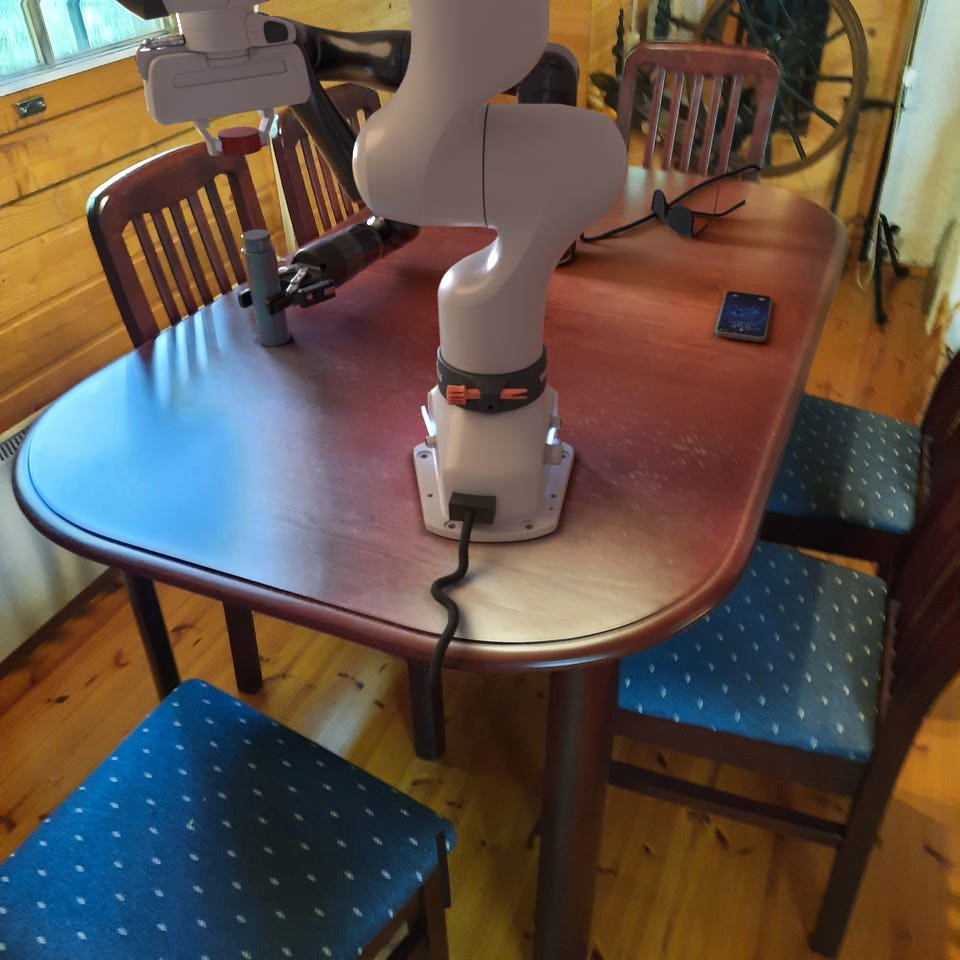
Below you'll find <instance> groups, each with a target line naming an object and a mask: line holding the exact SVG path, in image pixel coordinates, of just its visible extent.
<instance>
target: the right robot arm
mask: <svg viewBox="0 0 960 960" xmlns="http://www.w3.org/2000/svg"><path fill="white" fill-rule="evenodd" d="M271 16H272V17H276V18H280V19H283V20H286V21H288V22H290V23H292V24H293V25H294V26H295V29H296V30H295V31H296V39H295V40H294V41H293V42H291V43H294V44H295V45H297V46H298V47H299V48H300V50H301V52H302V54H303V57H304V60H305V64H306V68H307V72H308V77H309V83H310V95H309V98H308V100H307V102H305V103H301V104H295V105H289V106H288V108H289V109H290V110H291V112H292V113H293V115H294V116H295V117H296V118H297V120H298V121H299V123H300V124H301V126H302V127H303V128H304V130H305V131H306V133H307V134H308V136H309V137H310V139H311V141H312V142H313V144H314V145H315V147H316V149H317V150H318V152H319V153H320V155H321V157H322V158H323V160H324V161H325V163H326V164H327V166H328V168H329V170H330V172H331V173H332V175H333V176H334V178H335V179H336V181H337V183H338V184H339V186H340V187H341V189H342V191H343V193H344V194H345V196H346V197H347V199H348V200H349V201H350V202H351V203H353V204H356V205H357V204H362V203H365V202H364V200H363V199H362V197H361V195H360V193H359V191H358V189H357V186H356V183H355V179H354V174H353V151H354V146H355V142H356V139H357V137H358V134H359V132H357V130H356V129H355V128H354V127H353V126H352V124H351V123H350V122H349V121H348V119H347V118H346V117H345V116H344V115H343V114H342V112H341V111H340V110H339V108H338V107H337V106H336V105H335V103H334V102H333V100H332V99H331V98H330V96H329V94H328V93H327V91H326V90H325V88H324V87H323V85H322V83H321V82H333V83H334V82H337V83H339V82H340V83H349V84H353V85H358V86H361V87H365V88H369V89H372V90H376V91H380V92H385V93H389V94H393V95H394V94H395V93H396V91H397V90H398V88H399V87H400V85H401V83H402V81H403V79H404V77H405V74H406V71H407V68H408V64H409V60H410V54H411V29H377V30H375V29H373V30H366V31H365V30H364V31H342V30H341V31H340V30H335V29H329V28H325V27H320V26H316V25H312V24H308V23H304V22H302V21H298V20H295V19H292V18H289V17H285V16H280V15H271ZM580 73H581V72H580V65H579V61H578V60H577V58H576V55H575V54H574V53H573V52H572V51H571V50H570V49H569V48H567V47H566V46H565V45H562V44H560V43H557V42H549V41H548V42H547V45H546V48H545V51H544V53H543V55H542V57H541V58H540V60H539V61H538V63H537V64H536V65H535V67H534V68H533V69H532V70H531V71H530V72H529V74H528V75H527V76H526V77H525V78H524V79H523V80H521V81H520V82H519V83H518V84H516V85H515V86H513V87H511V88H510V89H508V90H506V91H504V92H502V93H500V94H499V95H507V96H511V97H516V104H563V105H568V106H573V107H578V90H579V89H578V87H579V82H580V75H581V74H580ZM749 169H755V170H756V171H758V172H760V171H762V169H761V167H760V166H759V165H757V164H755V163H750V164H746V165H744V166H742V167H740V168H736V169H734V170H731V171H728V172H725V173H721V174H718V175H716V176H714V177H712V178H709V179H707V180H704V181H702V182H700V183H698V184H697V185H694V186H693V187H691V188H689V189H688V190H686V191H685V192H683V193H682V194H680V195H678V196H677V197H676V198H674V199H673V200H671V201H670V202H669V203H668V205H669V207H671V208H672V207H673V206H675V205H677V203H679V202H680V201H682V200H683V199H684V198H686V197H688V196H689V195H691V194H693V193H694V192H695V191H698V190H700V189H701V188H703V187H705V186H707V185H709V184H711V183H714V182H717V181H718V180H722V179H724V178H727V177H731V176H734V175H738V174H740V173H742V172H743V171H746V170H749ZM656 215H657V214H656V212H654V213H652V212H651V213H650V214H648V215H647V216H644V217H641V218H640V219H638V220H636V221H634V222H631V223H628V224H626V225H623V226H620V227H617V228H613V229H611V230H608V231H606V232H604V233H602V234H599V235H597V236H593V237H586V236H585V232H584V233H582V234H581V235H580V236H579V237H578V238H579V240H580V241H581V242H584V243H588V242H591V241H597V240H602V239H605V238H608V237H610V236H613V235H615V234H619V233H622V232H624V231H628V230H630V229H633V228H634V227H637V226H639V225H641V224H644V223H646V222H648V221H650V220H651V219H653V218H656V217H655V216H656ZM421 229H422V226H418V225H413V224H408V223H404V222H399V221H395V220H391V219H386V218H382V217H378V216H376V215H375V214H374V213H373V214H372V215H370V216H369V217H367V218H366V219H364V220H362V221H360V222H357V223H356V222H355V223H353V224H350V225H349V226H346V227H345V228H343V229H341V230H339V231H337V232H334V233H331V234H328V235H326V236H324V237H322V238H319V239H318V240H316V241H315V242H312V243H310V244H308V245H306V246H305V247H303V248H301V249H299V250H298V251H297V252H296V253H295V254H294V255H293V257H292V261H291V262H290V264H288V265H283V266H281V267H278V271H279V276H280V282H281V288H282V292H280V293H279V294H277V295H275V296H273V297H271V298H270V299H268V300H266V302H265V307H266V313H267V314H268V315H271V316H273V315H275V314H277V313H279V312H281V311H282V310H284V309H285V310H286V309H288V308H296V307H297V306H300V308H301V309H307V308H310V307H313V306H315V305H318V304H321V303H324V302H326V301H329V300H332V299H335V298H336V297H337V294H336V289H338V288H340V287H341V286H343V285H345V284H347V283H349V282H350V281H352V280H353V279H354V278H355V277H356V276H358V275H359V274H360V273H362V272H364V271H365V270H367V269H368V268H370V267H372V266H373V265H374V264H376V263H377V262H379V261H380V260H383V259H385V258H387V257H389V256H390V255H392V254H394V253H395V252H397V251H400V250H401V249H402V248H404V247H405V246H407V245H409V244H411V243H412V242H414V241H415V240H417V238H418V237H419V236H420V234H421ZM576 252H577V239H576V240H575V241H574V242H573V243H572V244H571V245H570V247H569V248H568V249H567V250H566V252H565V253H564V254H563V256H562V257H561V259H560V260H559V262H558V264H557V266H561V265H564V264H567V263H568V262H570V261H571V260H572V258H573V257H576V255H577V253H576ZM557 266H556V267H557ZM311 296H312V297H311ZM310 297H311V298H310ZM309 298H310V299H309ZM237 300H238V306H239V307H240V308H241V309H242V308H243V309H248V308H249V307H251V306H252V301H251V296H250V291H249V287H247V288H246V289H244V290H242V291H240V292H238V294H237Z"/></svg>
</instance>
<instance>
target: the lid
mask: <svg viewBox="0 0 960 960" xmlns="http://www.w3.org/2000/svg"><path fill="white" fill-rule="evenodd" d="M258 130H259V128H257V127H253V126H252V127H251V126H233V127H228V128H223V129H221V130H219V131H217V132H216V138H218V139H219V140H221V142H222V149H223V153H224V154H222V155H224V156H227V157H229V156H230V157H241V156H242V157H243V156H249V155H253V154H256V153H258V152H260V151H261V150H262V148H263V147H262V146H261V141H260V135H259V131H258Z"/></svg>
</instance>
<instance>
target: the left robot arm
mask: <svg viewBox="0 0 960 960" xmlns="http://www.w3.org/2000/svg"><path fill="white" fill-rule="evenodd" d="M114 1H115V3H117V4H118V5H120V6H121V8H123V9H124V10H126V11H127V12H129V13H130V14H132V15H134V16H135V17H137V18H138V19H141V20H142V21H144V22H145V21H150V20H156V19H161V18H166V17H170V16H171V15H176V18H177V22H178V27H179V33H180V34H174V35H167V36H162V37H160V38H159V37H157V38H156V37H149V38H146V39H144V40H143V43H142V42H141V44H139V45H138V46H137V48H136V49H135V53H134V61H135V65H136V69H137V72H138V75H139V76H140V78H141V79H142V81H143V90H144V98H145V103H146V104H145V105H146V110H147V113H148V115H149V117H150V118H151V119H152V120H154V121H155V122H156V123H157V124H159V125H161V126H170V125H171V126H172V125H177V124H184V123H190V122H192V125H193V127H194V129H195V131H197V132H198V133H199V134H200V136H201V137H202V138H203V139H204V141H205V143H206V144H205V145H206V149H207V152H208V154H209V155H210V156H211V157H216V156H221V155H223V154H224V153H223V149H222V142H221V140H219V139H218V138H217V137H213V136H212V135H211V134H210V132H209V131H208V130H207V129H209V128H210V127H211V125H210V121H209V120H210V119H214V118H215V119H216V118H219V117H227V116H233V115H238V114H245V113H251V112H257V113H258V115H259V116H260V117H261V120H260V124H259V127H258V131H259V135H260V141H261V146H262V148H265V147H270V146H271V138H270V132H271V129H272V127H273V123H274V121H275V119H276V118H275V117H276V116H275V115H276V114H275V109H276V108H281V107H289V105H295V104H301V103H305V102H307V100H308V98H309V95H310V83H309V77H308V72H307V68H306V64H305V60H304V57H303V54H302V52H301V50H300V48H299V47H298V46H297V45H295V44H294V43H291V42H293V41H294V40H295V39H296V31H295V30H296V29H295V26H294V25H293V24H292V23H290V22H288V21H286V20H283V19H280V18H276V17H272V16H273V15H270V14H268V13H266V12H262V11H256V12H255V9H254V6H258V5H261V4H263V3H266V2H269V1H270V0H114ZM408 2H409V15H410V17H409V18H410V30H411V54H410V60H409V64H408V68H407V71H406V74H405V77H404V79H403V81H402V83H401V85H400V87H399V88H398V90H397V91H396V93H395V94H394V93H393V95H392V96H391V98H390V99H389V100H388V101H386V103H384V105H382V106H381V107H379V109H377V110H376V111H374V112H373V113H372V114H371V115H369V117H368V118H367V119H366V121H365V122H364V123H363V125H362V127H361V128H360V130H359V132H358V137H357V139H356V142H355V146H354V151H353V174H354V179H355V183H356V186H357V189H358V191H359V193H360V195H361V197H362V199H363V200H364V202H363V203H364V204H365V205H366V207H367V208H368V209H369V210H370V211H371V212H372V213H373V214H375V215H376V216H378V217H382V218H386V219H391V220H395V221H399V222H404V223H408V224H413V225H418V226H421V227H441V228H442V227H446V228H448V227H450V228H451V227H453V228H458V227H459V228H488V229H493V230H495V232H497V236H496V238H495V239H494V240H493V241H492V242H491V243H490V244H488V245H487V246H486V247H484V248H482V249H480V250H478V251H476V252H474V253H471V254H469V255H467V256H465V257H464V258H462V259H460V260H459V261H458V262H455V264H454V265H452V266H451V267H450V268H449V269H448V270H447V271H446V273H445V274H444V275H443V277H442V278H441V280H440V283H439V285H438V290H437V307H438V327H439V342H440V343H439V344H440V345H439V346H438V348H437V354H436V356H437V358H436V363H435V364H436V376H437V384H436V385H435V387H434V386H433V388H432V389H431V390H430V391H428V392H427V406H428V407H427V409H428V413H427V410H426V407H425V405H423V406H421V413H422V416H423V419H424V422H425V425H426V428H427V431H428V434H429V435H426V436H425V438H424V442H422V443H419V444H417V445H416V446H415V447H414V448H413V454H412V455H413V457H412V458H413V464H414V470H415V475H416V476H415V477H416V480H417V487H418V492H419V498H420V499H419V500H420V503H421V504H420V505H421V510H422V516H423V522H424V526H425V529H426V530H427V531H428V532H429V533H432V534H434V535H437V536H440V537H443V538H448V539H452V540H457V541H459V542H458V549H457V550H458V551H457V552H458V553H457V554H458V566H457V568H456V570H455V571H454V572H452V573H450V574H448V575H445V576H442V577H439V578H437V579H436V580H434V581H433V582H432V584H431V587H430V594H431V596H432V597H433V599H434V601H436V602H437V603H439V604H440V605H441V606H442V607H444V608H445V609H446V610H447V614H448V618H447V624H446V626H445V628H444V630H443V632H442V634H441V635H440V637H439V639H438V641H437V643H436V645H435V647H434V650H433V653H432V656H431V660H430V665H429V671H428V680H427V681H428V684H429V686H432V687H435V686H437V685H438V684H440V681H441V680H440V679H441V671H442V665H443V661H444V658H445V655H446V652H447V650H448V648H449V645H450V644H451V642H452V640H453V638H454V636H455V634H456V631H457V629H458V627H459V621H460V612H459V606H458V605H457V604H456V602H455V600H453V598H451V597H450V596H448V595H447V594H446V593H444V592H443V591H442V589H443V588H445V587H448V586H451V585H454V584H457V583H458V582H460V581H462V579H464V578H465V576H466V575H467V572H468V570H469V565H470V562H469V561H470V558H469V557H470V556H469V555H470V554H469V549H470V542H477V543H478V542H480V543H500V542H501V543H502V542H503V543H506V542H518V541H527V540H531V539H536V538H539V537H543V536H546V535H548V534H550V533H552V532H554V531H556V530H557V527H558V525H559V520H560V518H561V517H560V516H561V512H562V508H563V504H564V500H565V497H566V492H567V488H568V483H569V480H570V476H571V472H572V469H573V468H572V467H573V464H574V459H575V450H574V447H573V446H571V445H570V444H568V443H566V442H563V441H561V439H560V438H558V430H560V429H561V428H562V416H559V392H557V391H556V390H555V389H554V388H553V387H552V386H551V385H550V384H549V383H548V382H547V379H548V367H549V361H548V356H547V355H548V354H547V353H548V351H547V347H546V345H545V344H544V332H545V331H544V330H545V329H544V327H545V316H546V307H547V298H548V292H549V287H550V283H551V280H552V277H553V275H554V272H555V270H556V268H557V264H558V262H559V260H560V259H561V257H562V256H563V254H564V253H565V252H566V250H567V249H568V248H569V247H570V245H571V244H572V243H573V242H574V241H575V240H576V241H577V239H578V238H579V236H580V235H581V234H582V233H584V234H585V232H586V231H588V229H590V228H591V227H594V226H595V225H596V224H597V223H599V222H601V221H602V220H603V219H604V218H605V217H607V216H608V215H609V214H610V212H611V211H612V210H613V209H614V207H615V206H616V204H617V203H618V201H619V199H620V198H621V195H622V194H623V191H624V189H625V185H626V182H627V176H628V168H629V167H628V166H629V159H628V152H627V146H626V143H625V139H624V138H623V137H624V136H623V135H622V133H621V130H620V129H619V128H618V126H617V124H616V122H614V121H613V119H612V118H611V116H609V115H608V114H607V113H603V112H599V111H595V110H591V109H587V108H583V107H578V106H577V107H573V106H568V105H563V104H517V103H490V102H488V101H490V100H491V99H493V98H495V97H496V96H499V95H501V94H500V93H502V92H504V91H506V90H508V89H510V88H511V87H513V86H515V85H516V84H518V83H519V82H520V81H521V80H523V79H524V78H525V77H526V76H527V75H528V74H529V72H530V71H531V70H532V69H533V68H534V67H535V65H536V64H537V63H538V61H539V60H540V58H541V57H542V55H543V53H544V51H545V48H546V45H547V42H549V37H550V3H551V1H550V0H408ZM144 48H145V49H144ZM434 837H435V846H436V853H437V854H436V855H437V864H438V872H439V873H438V874H439V882H440V890H441V891H440V893H441V894H440V895H441V905H442V908H443V909H450V908H451V907H452V895H451V883H450V882H451V881H450V880H451V879H450V871H449V859H448V850H447V840H446V830H445V829H443V830H442V831H440V832H438V833H436V834H435V836H434Z"/></svg>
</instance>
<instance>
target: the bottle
mask: <svg viewBox="0 0 960 960" xmlns="http://www.w3.org/2000/svg"><path fill="white" fill-rule="evenodd" d="M241 239H242V240H241V244H242V245H243V247H242V248H241V255H242V259H243V260H242V261H243V265H244V270H245V275H246V280H247V285H248V288H249V291H250V296H251V301H252V305H251V306H252V310H253V316H254V322H255V326H256V331H257V337H258V340H259V343H260V344H261V345H264V346H267V347H269V346H270V347H273V346H280V345H282V344H285V343H287V342H288V341H289V340H290V339H291V336H290V330H289V324H288V317H287V311H286V309H284V310H282V311H281V312H279V313H277V314H275V315H273V316H271V315H268V314H267V313H266V307H265V302H266V300H268V299H270V298H271V297H273V296H275V295H277V294H279V293H280V292H282V288H281V282H280V276H279V271H278V270H279V264H278V259H277V255H276V254H277V253H276V248H275V245H274V244H273V243H272V242H271V233H270V232H269V231H268V230H266V229H260V228H259V229H250V230H247V231H244V232H243V233H242V234H241Z"/></svg>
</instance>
